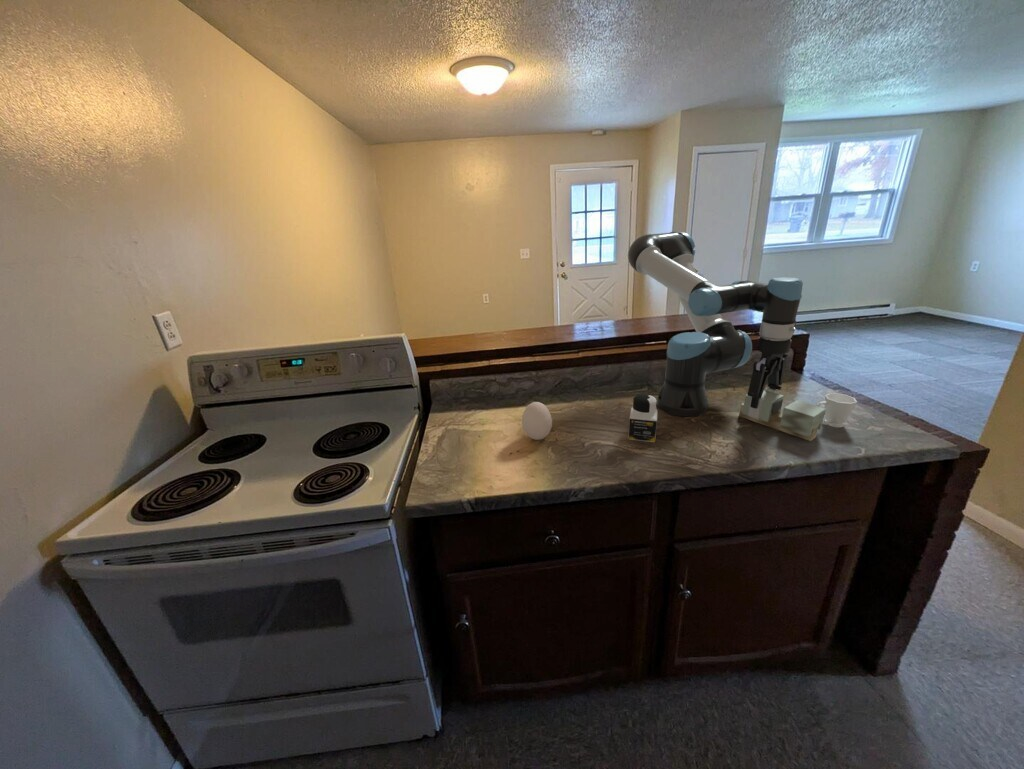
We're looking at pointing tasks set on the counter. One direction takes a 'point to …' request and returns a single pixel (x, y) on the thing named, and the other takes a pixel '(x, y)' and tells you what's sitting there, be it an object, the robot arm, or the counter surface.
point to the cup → (837, 409)
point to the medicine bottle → (643, 418)
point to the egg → (536, 421)
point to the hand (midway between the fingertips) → (760, 412)
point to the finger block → (765, 404)
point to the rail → (777, 424)
